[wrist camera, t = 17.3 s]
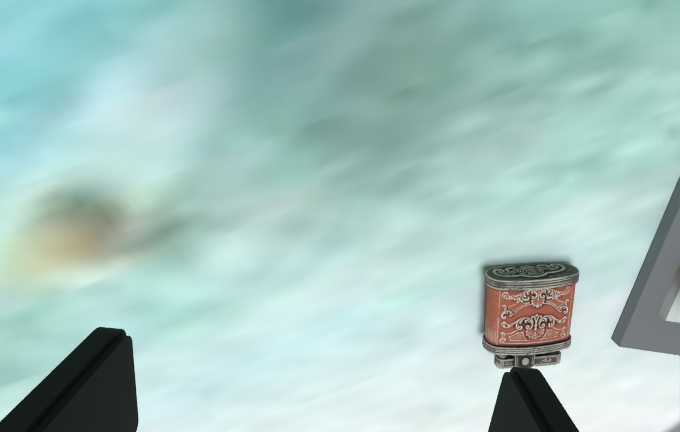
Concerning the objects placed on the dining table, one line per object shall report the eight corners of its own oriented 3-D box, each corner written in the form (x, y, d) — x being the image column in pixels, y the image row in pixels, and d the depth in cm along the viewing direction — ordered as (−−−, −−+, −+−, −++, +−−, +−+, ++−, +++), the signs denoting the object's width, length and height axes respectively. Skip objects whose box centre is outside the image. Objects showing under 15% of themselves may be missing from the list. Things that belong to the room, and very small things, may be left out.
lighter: (479, 267, 38) (476, 358, 41) (494, 284, 35) (489, 381, 38) (565, 259, 38) (555, 350, 41) (588, 276, 35) (575, 373, 38)
